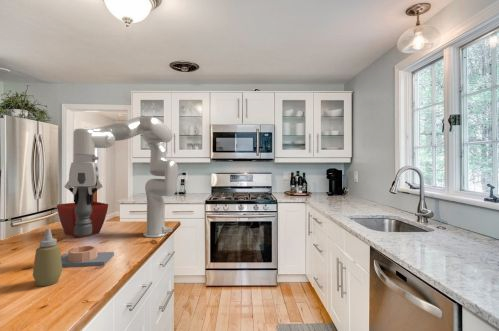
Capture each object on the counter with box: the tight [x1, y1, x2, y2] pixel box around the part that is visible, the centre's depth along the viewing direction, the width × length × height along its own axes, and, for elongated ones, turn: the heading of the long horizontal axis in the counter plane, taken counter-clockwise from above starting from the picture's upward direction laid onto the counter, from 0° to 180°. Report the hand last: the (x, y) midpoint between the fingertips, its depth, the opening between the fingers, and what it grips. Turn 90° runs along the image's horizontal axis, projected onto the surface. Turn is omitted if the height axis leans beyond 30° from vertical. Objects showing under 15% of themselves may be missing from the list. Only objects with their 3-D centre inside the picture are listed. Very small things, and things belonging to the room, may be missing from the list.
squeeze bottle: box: [32, 228, 63, 287], centre depth 92 cm, size 8×8×18 cm
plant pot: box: [56, 200, 109, 239], centre depth 154 cm, size 19×19×17 cm
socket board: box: [61, 244, 115, 268], centre depth 113 cm, size 20×12×5 cm, turn 100°
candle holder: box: [74, 173, 92, 236], centre depth 112 cm, size 6×6×25 cm
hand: (83, 203), depth 112 cm, fingers closed on candle holder, 4 cm apart
